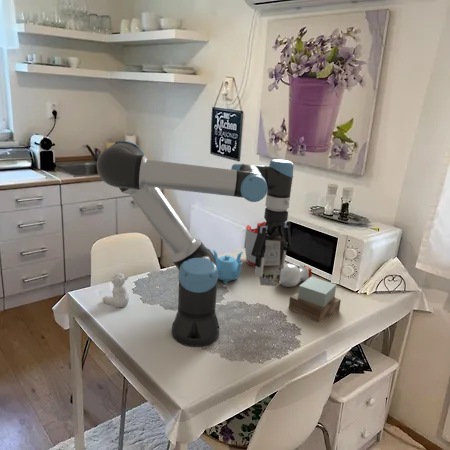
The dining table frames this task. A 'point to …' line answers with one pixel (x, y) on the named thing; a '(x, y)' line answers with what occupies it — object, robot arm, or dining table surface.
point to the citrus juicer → (251, 243)
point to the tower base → (314, 308)
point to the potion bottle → (294, 274)
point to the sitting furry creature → (118, 292)
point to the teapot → (228, 267)
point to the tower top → (317, 291)
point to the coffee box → (272, 261)
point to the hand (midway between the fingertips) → (269, 271)
